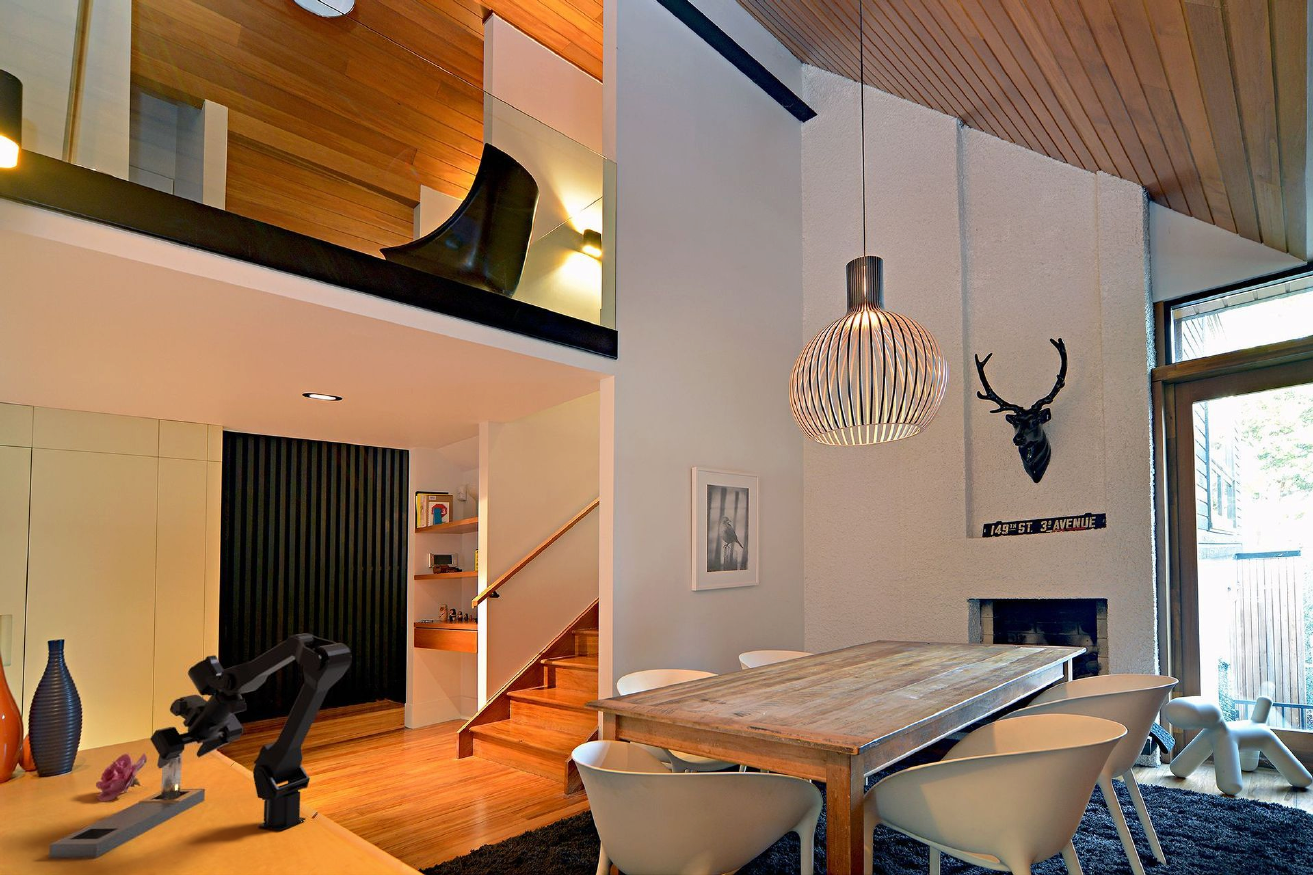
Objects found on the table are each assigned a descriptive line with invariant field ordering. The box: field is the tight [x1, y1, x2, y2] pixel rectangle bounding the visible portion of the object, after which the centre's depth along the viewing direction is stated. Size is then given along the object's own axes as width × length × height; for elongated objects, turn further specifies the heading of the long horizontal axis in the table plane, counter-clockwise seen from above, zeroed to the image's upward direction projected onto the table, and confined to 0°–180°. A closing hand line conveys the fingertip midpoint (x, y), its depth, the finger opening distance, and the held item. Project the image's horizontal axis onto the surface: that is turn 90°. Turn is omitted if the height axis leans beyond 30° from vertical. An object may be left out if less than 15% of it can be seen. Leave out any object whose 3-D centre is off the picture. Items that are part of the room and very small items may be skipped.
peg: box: [160, 752, 183, 799], centre depth 176 cm, size 4×4×14 cm
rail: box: [48, 788, 206, 859], centre depth 164 cm, size 33×9×3 cm, turn 178°
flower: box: [95, 753, 148, 802], centre depth 186 cm, size 11×10×10 cm
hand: (178, 760), depth 175 cm, fingers open, 9 cm apart
